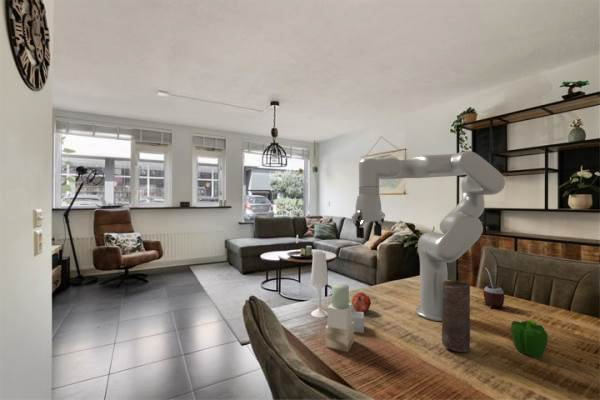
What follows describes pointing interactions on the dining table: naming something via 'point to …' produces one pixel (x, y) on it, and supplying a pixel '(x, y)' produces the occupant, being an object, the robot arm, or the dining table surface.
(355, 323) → the grey cube
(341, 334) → the tower base
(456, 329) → the candle
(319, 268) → the champagne flute
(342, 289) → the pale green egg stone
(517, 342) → the bell pepper
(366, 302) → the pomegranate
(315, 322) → the dining table surface
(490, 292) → the mate gourd
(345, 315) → the tower top
